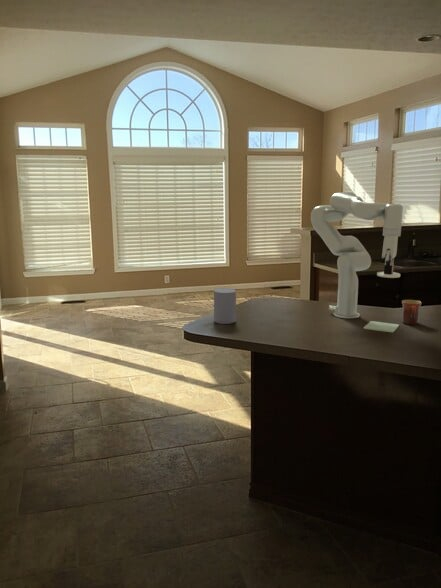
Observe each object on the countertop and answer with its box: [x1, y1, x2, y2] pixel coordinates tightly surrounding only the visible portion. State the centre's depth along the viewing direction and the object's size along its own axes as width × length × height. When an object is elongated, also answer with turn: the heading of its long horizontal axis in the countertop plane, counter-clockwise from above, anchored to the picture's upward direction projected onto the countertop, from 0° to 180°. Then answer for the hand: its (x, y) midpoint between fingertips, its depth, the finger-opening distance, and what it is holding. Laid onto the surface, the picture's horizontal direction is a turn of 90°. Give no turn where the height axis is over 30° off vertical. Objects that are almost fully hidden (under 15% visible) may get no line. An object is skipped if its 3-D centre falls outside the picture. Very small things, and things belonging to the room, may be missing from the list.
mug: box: [401, 299, 422, 325], centre depth 244 cm, size 12×9×10 cm
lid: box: [376, 262, 401, 279], centre depth 234 cm, size 10×10×6 cm
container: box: [213, 287, 237, 325], centre depth 246 cm, size 10×10×15 cm
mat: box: [363, 320, 400, 334], centre depth 239 cm, size 13×13×1 cm
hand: (388, 272), depth 235 cm, fingers closed on lid, 3 cm apart
